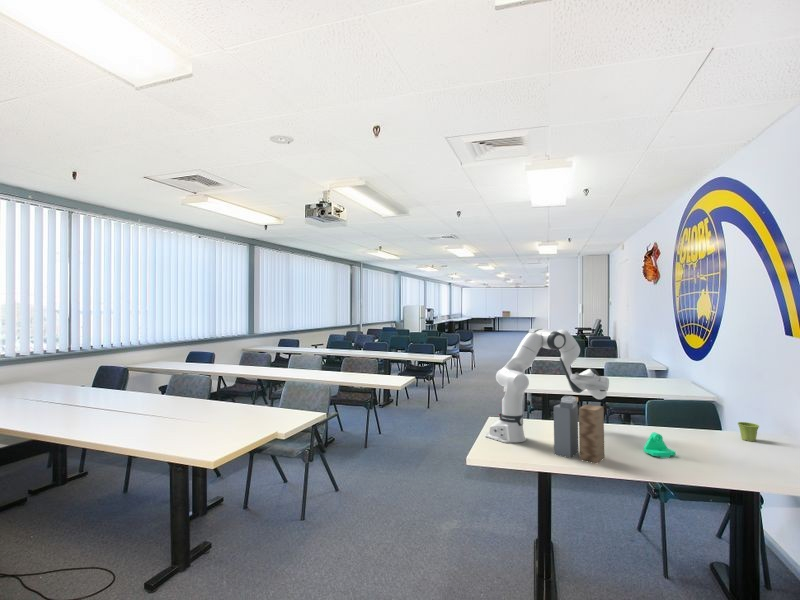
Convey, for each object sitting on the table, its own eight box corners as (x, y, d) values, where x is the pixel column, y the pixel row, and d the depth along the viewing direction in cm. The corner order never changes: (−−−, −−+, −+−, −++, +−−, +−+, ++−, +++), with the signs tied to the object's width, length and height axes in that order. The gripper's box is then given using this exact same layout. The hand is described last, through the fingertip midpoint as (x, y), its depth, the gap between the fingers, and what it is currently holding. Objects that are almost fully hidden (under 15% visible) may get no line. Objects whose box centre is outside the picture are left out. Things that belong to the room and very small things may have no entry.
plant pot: (753, 438, 237) (753, 422, 238) (763, 443, 228) (763, 427, 229) (734, 437, 240) (734, 421, 240) (743, 442, 231) (743, 426, 231)
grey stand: (554, 454, 213) (553, 406, 214) (562, 448, 221) (562, 402, 222) (570, 457, 208) (569, 408, 208) (578, 452, 216) (577, 405, 216)
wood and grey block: (560, 407, 211) (559, 398, 212) (569, 400, 227) (569, 392, 228) (572, 408, 208) (572, 399, 208) (581, 401, 224) (581, 393, 224)
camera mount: (654, 458, 206) (653, 437, 207) (643, 453, 214) (643, 432, 214) (676, 457, 208) (676, 436, 208) (665, 452, 215) (664, 431, 216)
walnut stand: (579, 460, 205) (578, 408, 205) (587, 454, 213) (586, 404, 213) (597, 463, 199) (596, 410, 200) (604, 457, 207) (603, 406, 208)
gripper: (575, 377, 254) (567, 368, 245) (612, 381, 240) (605, 371, 231) (573, 387, 251) (565, 378, 243) (610, 391, 237) (603, 381, 229)
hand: (585, 374), depth 237 cm, fingers open, 8 cm apart
